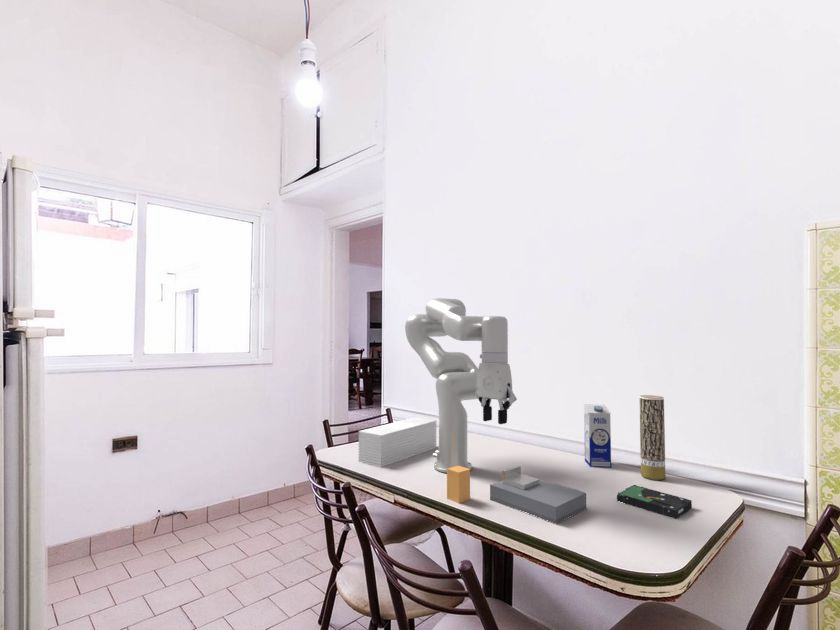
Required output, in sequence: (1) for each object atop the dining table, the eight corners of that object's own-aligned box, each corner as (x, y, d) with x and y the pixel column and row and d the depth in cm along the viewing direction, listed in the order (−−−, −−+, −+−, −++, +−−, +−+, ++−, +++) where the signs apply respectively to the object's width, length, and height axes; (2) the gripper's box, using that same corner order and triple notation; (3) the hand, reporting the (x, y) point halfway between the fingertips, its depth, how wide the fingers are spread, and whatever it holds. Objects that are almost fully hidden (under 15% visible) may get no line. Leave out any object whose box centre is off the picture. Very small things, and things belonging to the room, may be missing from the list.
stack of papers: (415, 443, 178) (415, 417, 179) (436, 448, 172) (436, 420, 172) (358, 462, 153) (358, 430, 153) (380, 467, 147) (381, 435, 147)
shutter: (502, 482, 119) (502, 470, 119) (518, 477, 124) (518, 465, 124) (524, 489, 114) (524, 477, 114) (539, 483, 118) (539, 471, 119)
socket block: (490, 499, 118) (490, 484, 118) (521, 487, 127) (521, 473, 127) (556, 524, 103) (555, 506, 103) (586, 508, 112) (586, 492, 112)
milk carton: (605, 461, 153) (604, 404, 154) (611, 467, 147) (610, 407, 147) (584, 461, 154) (583, 403, 155) (589, 466, 147) (589, 406, 148)
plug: (447, 498, 119) (447, 468, 119) (458, 494, 122) (458, 465, 122) (458, 503, 115) (458, 472, 116) (470, 499, 118) (470, 469, 119)
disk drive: (692, 511, 112) (633, 493, 124) (692, 500, 112) (633, 483, 124) (676, 522, 106) (616, 502, 117) (676, 510, 106) (616, 492, 117)
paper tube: (641, 472, 141) (640, 394, 142) (665, 476, 138) (664, 396, 139) (640, 478, 135) (638, 397, 136) (665, 482, 132) (663, 398, 133)
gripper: (464, 357, 131) (464, 419, 130) (510, 360, 118) (510, 428, 117) (481, 357, 136) (481, 416, 135) (526, 359, 123) (527, 425, 122)
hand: (494, 421), depth 126 cm, fingers open, 4 cm apart
